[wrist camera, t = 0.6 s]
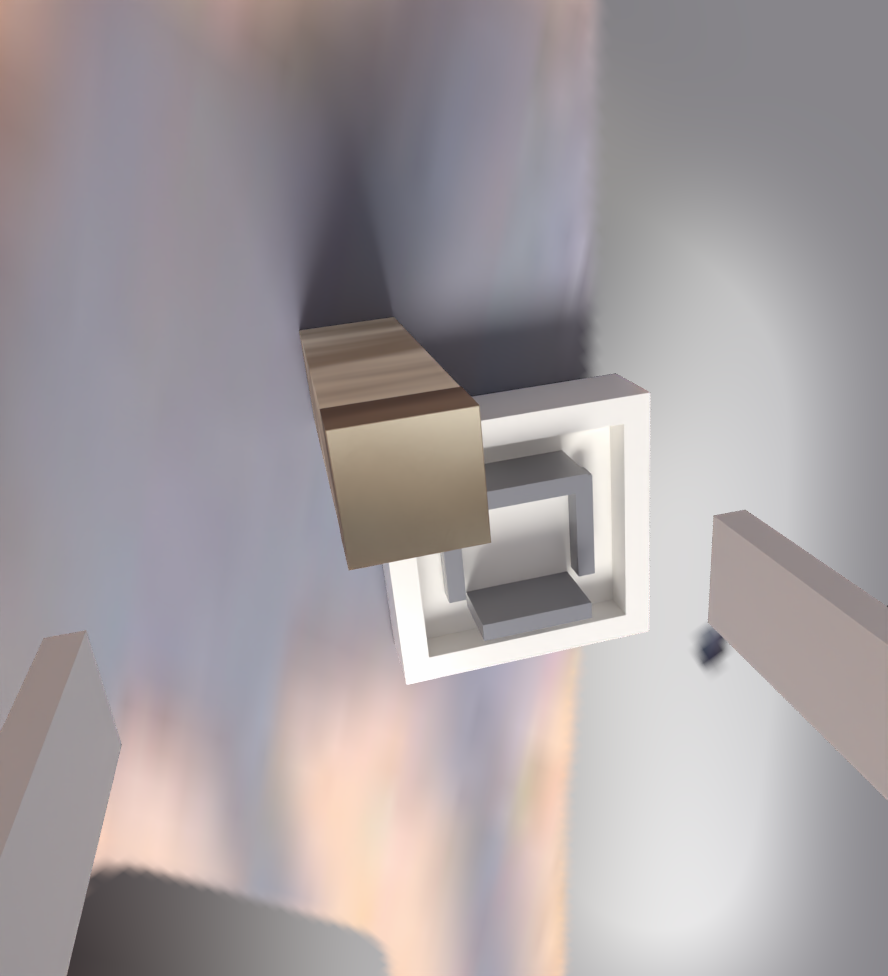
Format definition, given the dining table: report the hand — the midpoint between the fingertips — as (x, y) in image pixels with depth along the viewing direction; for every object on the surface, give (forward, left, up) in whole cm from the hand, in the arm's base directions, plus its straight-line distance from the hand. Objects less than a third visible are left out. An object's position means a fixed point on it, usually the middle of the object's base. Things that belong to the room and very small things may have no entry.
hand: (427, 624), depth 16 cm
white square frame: (+7, +7, -19) cm, 22 cm away
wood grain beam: (-1, +1, -19) cm, 19 cm away
